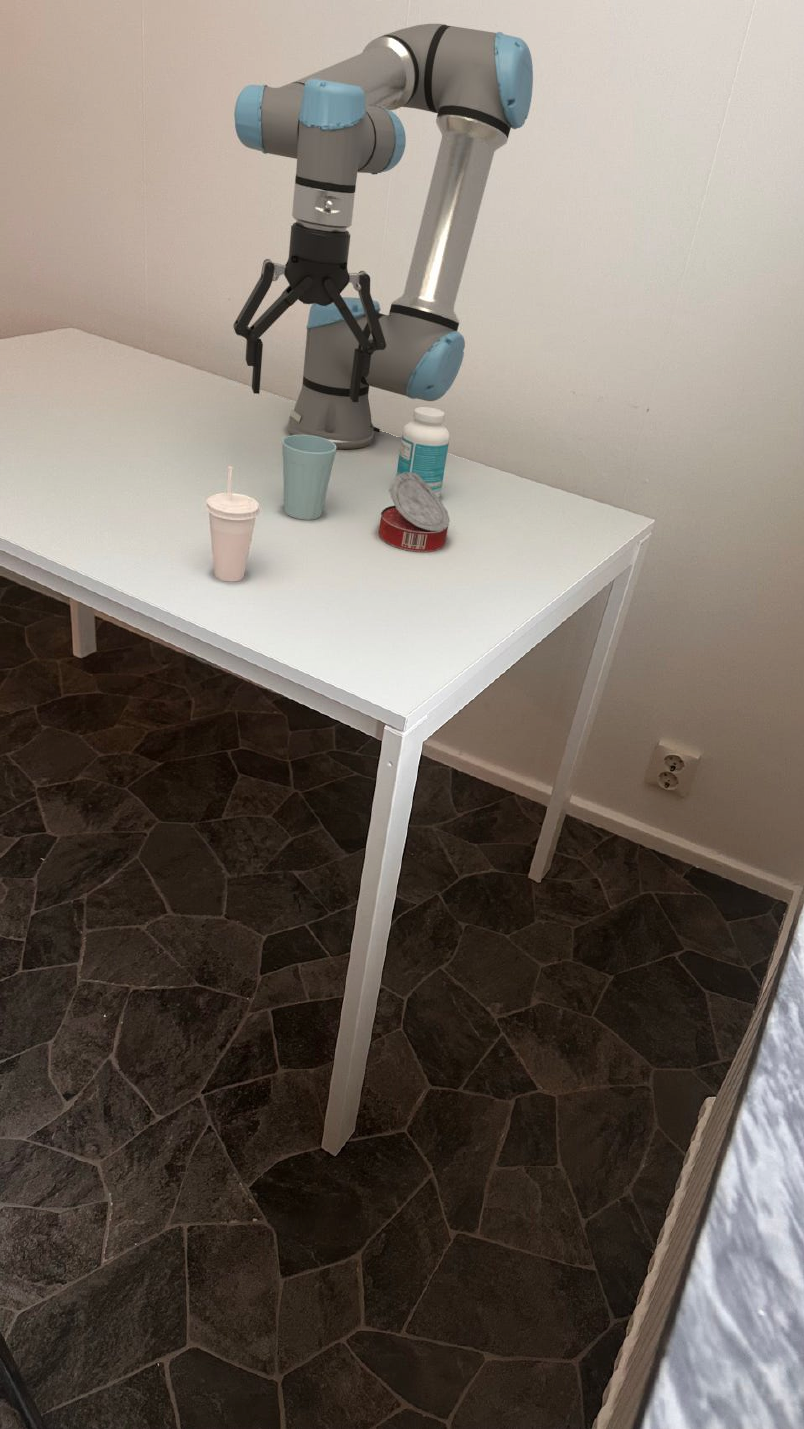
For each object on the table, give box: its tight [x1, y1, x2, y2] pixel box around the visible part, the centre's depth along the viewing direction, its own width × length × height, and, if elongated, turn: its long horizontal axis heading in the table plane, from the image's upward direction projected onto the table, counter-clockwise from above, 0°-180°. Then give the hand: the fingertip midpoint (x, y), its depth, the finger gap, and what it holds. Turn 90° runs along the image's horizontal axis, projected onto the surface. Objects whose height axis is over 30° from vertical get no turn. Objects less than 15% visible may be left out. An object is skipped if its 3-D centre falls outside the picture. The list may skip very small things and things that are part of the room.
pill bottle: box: [395, 406, 451, 499], centre depth 155 cm, size 8×7×14 cm
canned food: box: [377, 471, 451, 553], centre depth 142 cm, size 11×10×10 cm
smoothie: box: [205, 466, 260, 583], centre depth 121 cm, size 6×6×14 cm
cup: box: [281, 434, 337, 521], centre depth 142 cm, size 8×8×10 cm
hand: (305, 395), depth 136 cm, fingers open, 13 cm apart
